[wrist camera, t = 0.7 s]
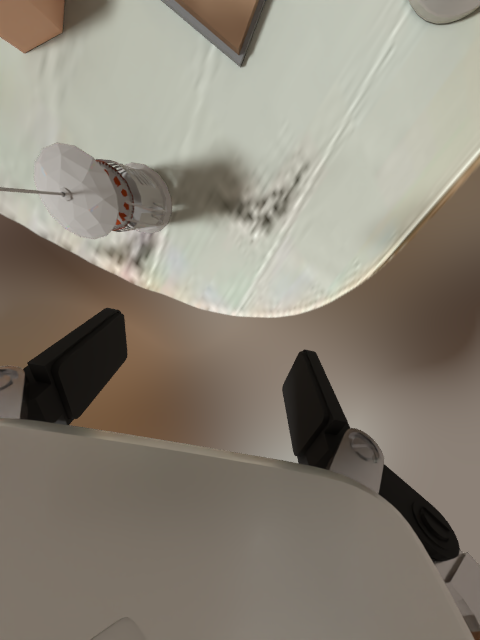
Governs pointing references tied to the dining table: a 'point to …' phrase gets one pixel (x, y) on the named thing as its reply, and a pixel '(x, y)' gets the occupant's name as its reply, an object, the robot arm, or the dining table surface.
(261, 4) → the mat
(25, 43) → the bowl
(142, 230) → the lantern
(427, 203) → the dining table surface
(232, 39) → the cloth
